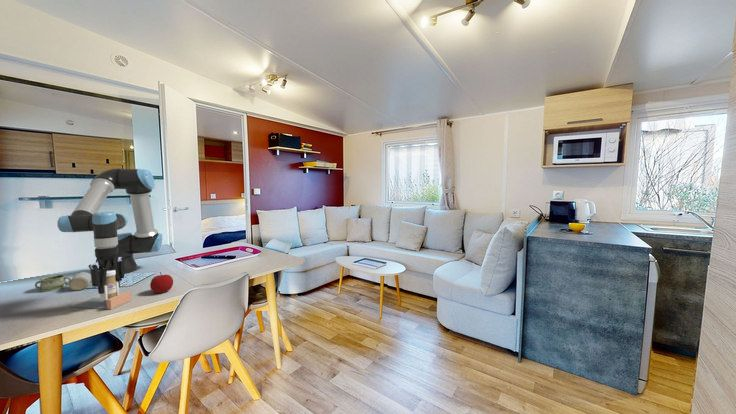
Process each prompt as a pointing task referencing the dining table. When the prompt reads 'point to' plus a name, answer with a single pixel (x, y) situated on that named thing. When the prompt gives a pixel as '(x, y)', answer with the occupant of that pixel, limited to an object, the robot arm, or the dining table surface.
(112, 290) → the sprinkles bottle
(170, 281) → the apple
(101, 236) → the robot arm
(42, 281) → the vessel
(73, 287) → the ceramic mug
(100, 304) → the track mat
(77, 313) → the dining table surface
